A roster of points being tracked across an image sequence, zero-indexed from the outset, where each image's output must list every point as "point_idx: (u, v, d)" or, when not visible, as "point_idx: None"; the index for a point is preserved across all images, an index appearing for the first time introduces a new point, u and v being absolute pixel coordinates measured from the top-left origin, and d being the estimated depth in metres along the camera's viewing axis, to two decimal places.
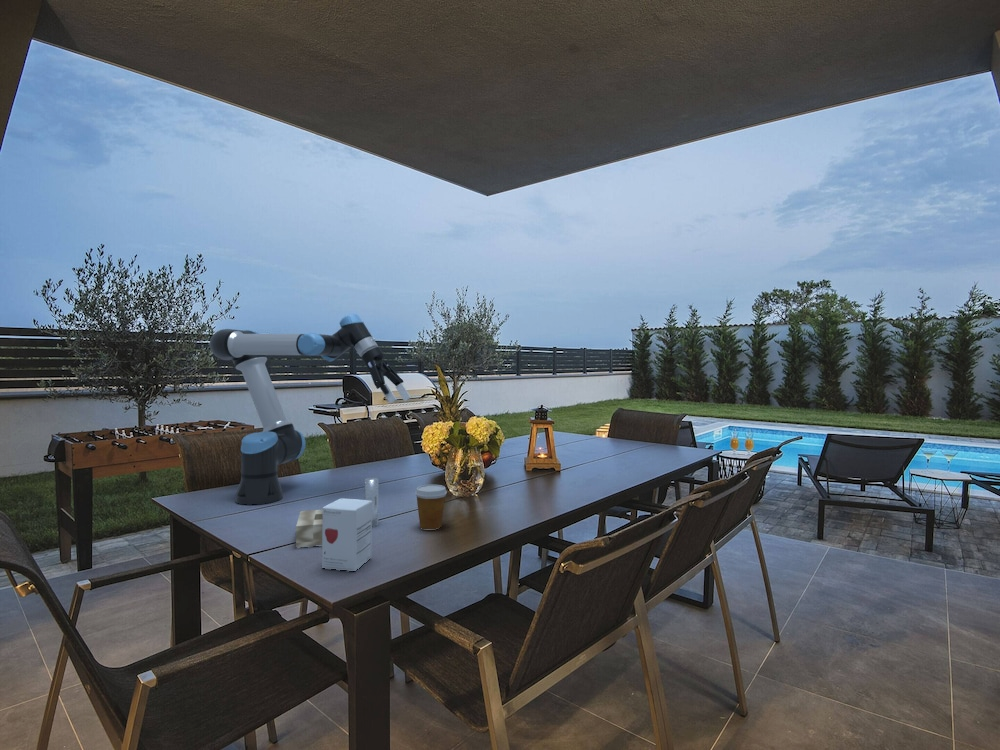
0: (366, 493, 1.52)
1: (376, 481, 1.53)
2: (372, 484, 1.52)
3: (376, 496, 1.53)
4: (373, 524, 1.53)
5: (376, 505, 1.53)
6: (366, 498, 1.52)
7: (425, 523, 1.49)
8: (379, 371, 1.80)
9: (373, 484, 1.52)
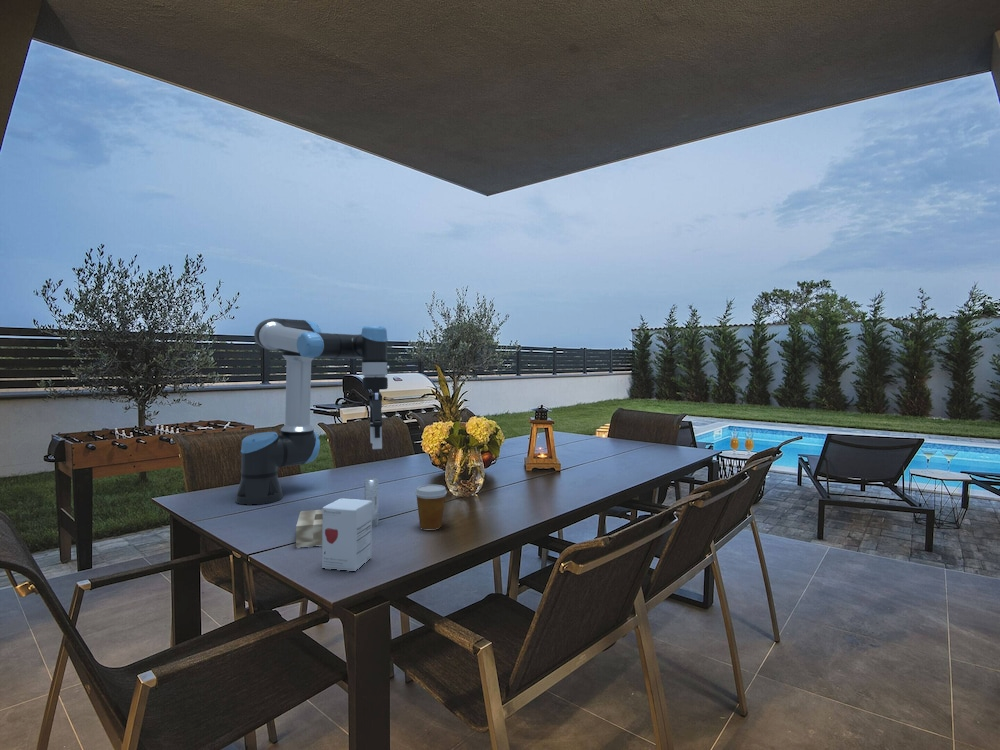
0: (366, 493, 1.52)
1: (376, 481, 1.53)
2: (372, 484, 1.52)
3: (376, 496, 1.53)
4: (373, 524, 1.53)
5: (376, 505, 1.53)
6: (366, 498, 1.52)
7: (425, 523, 1.49)
8: None
9: (373, 484, 1.52)
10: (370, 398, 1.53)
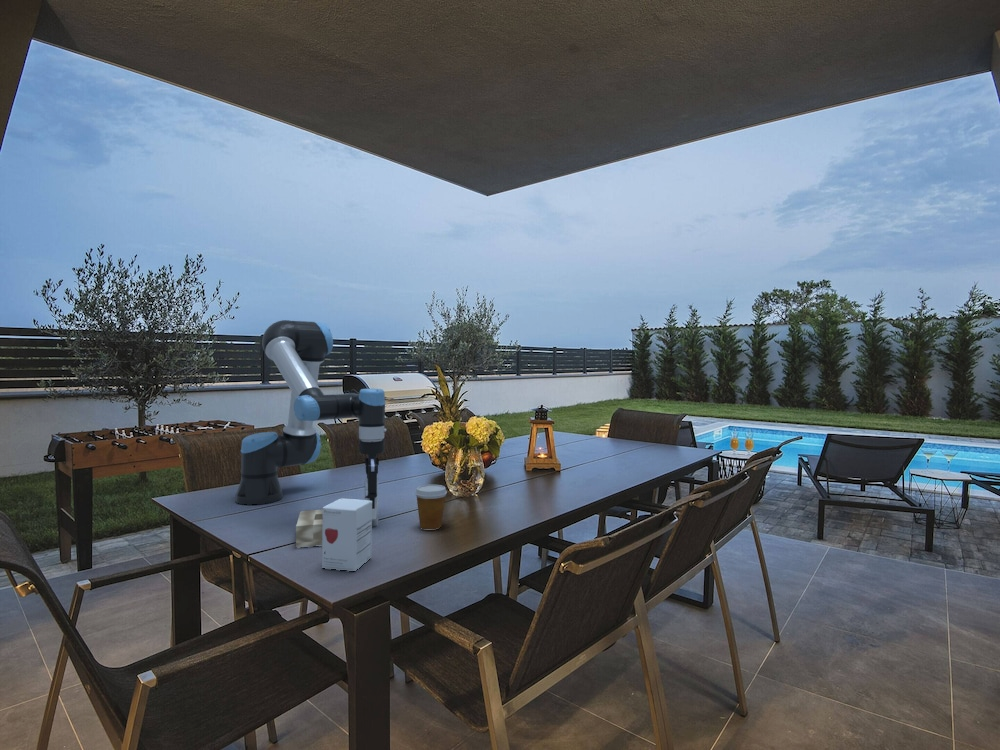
0: (366, 493, 1.52)
1: None
2: None
3: None
4: (373, 524, 1.53)
5: None
6: (366, 498, 1.52)
7: (425, 523, 1.49)
8: None
9: None
10: (366, 464, 1.51)
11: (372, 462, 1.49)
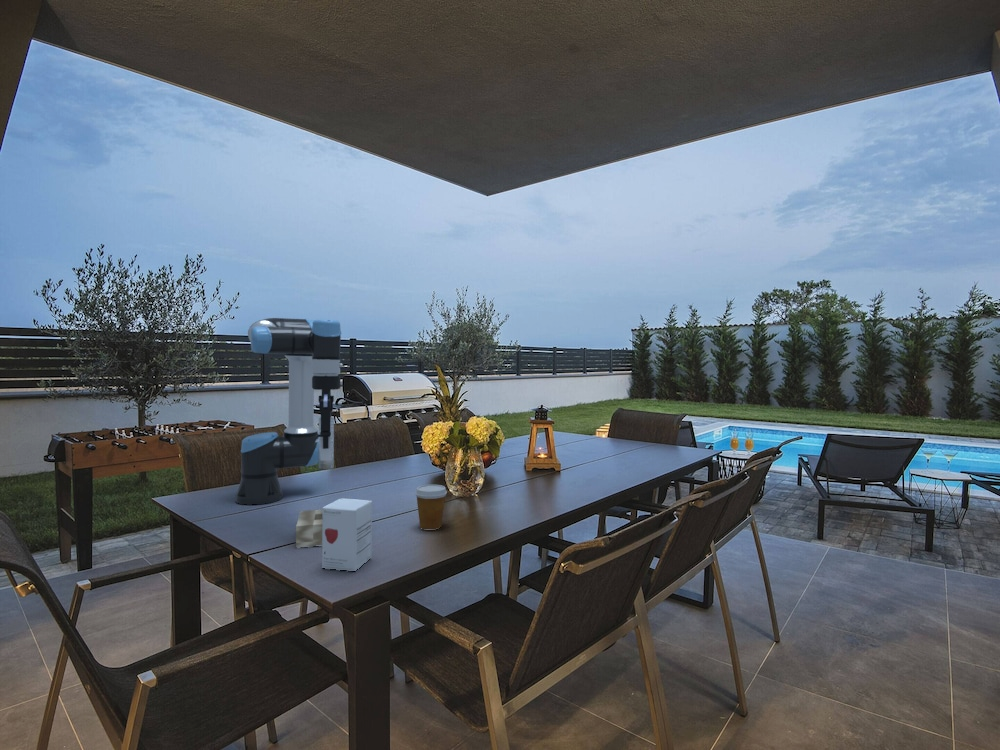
0: None
1: (331, 420, 1.41)
2: None
3: (331, 436, 1.41)
4: (327, 466, 1.41)
5: (331, 446, 1.41)
6: (320, 438, 1.41)
7: (425, 523, 1.49)
8: None
9: None
10: (320, 400, 1.40)
11: (325, 397, 1.37)
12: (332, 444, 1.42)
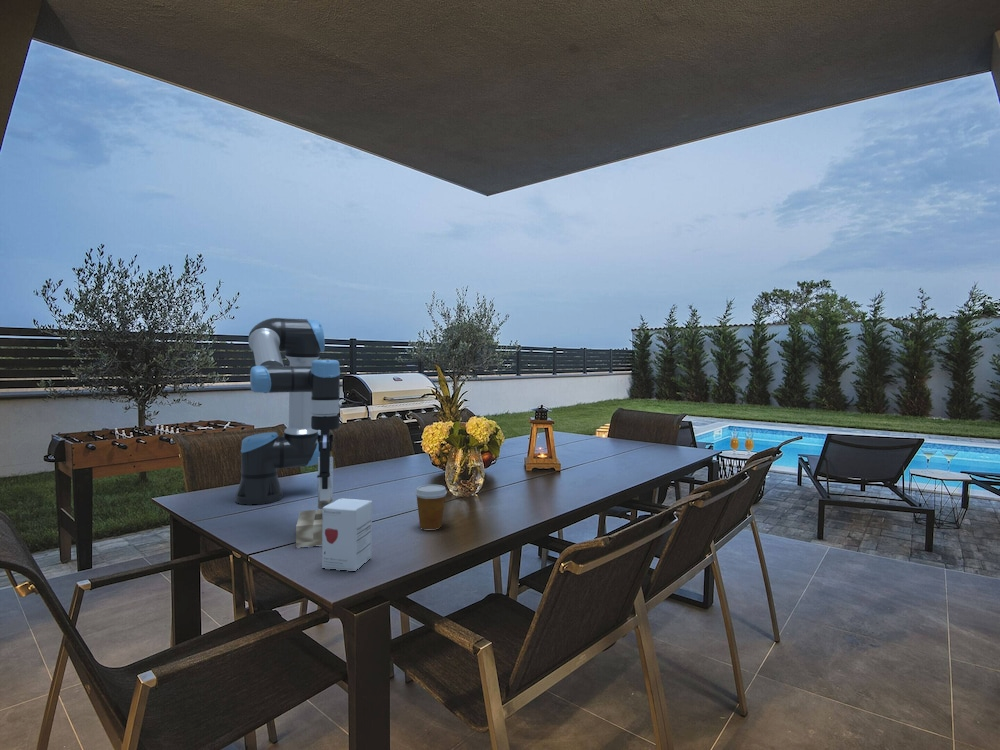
0: (319, 472, 1.41)
1: (330, 459, 1.41)
2: None
3: (330, 476, 1.41)
4: None
5: (330, 485, 1.42)
6: (319, 478, 1.41)
7: (425, 523, 1.49)
8: None
9: None
10: (319, 440, 1.40)
11: (324, 438, 1.38)
12: (331, 484, 1.42)
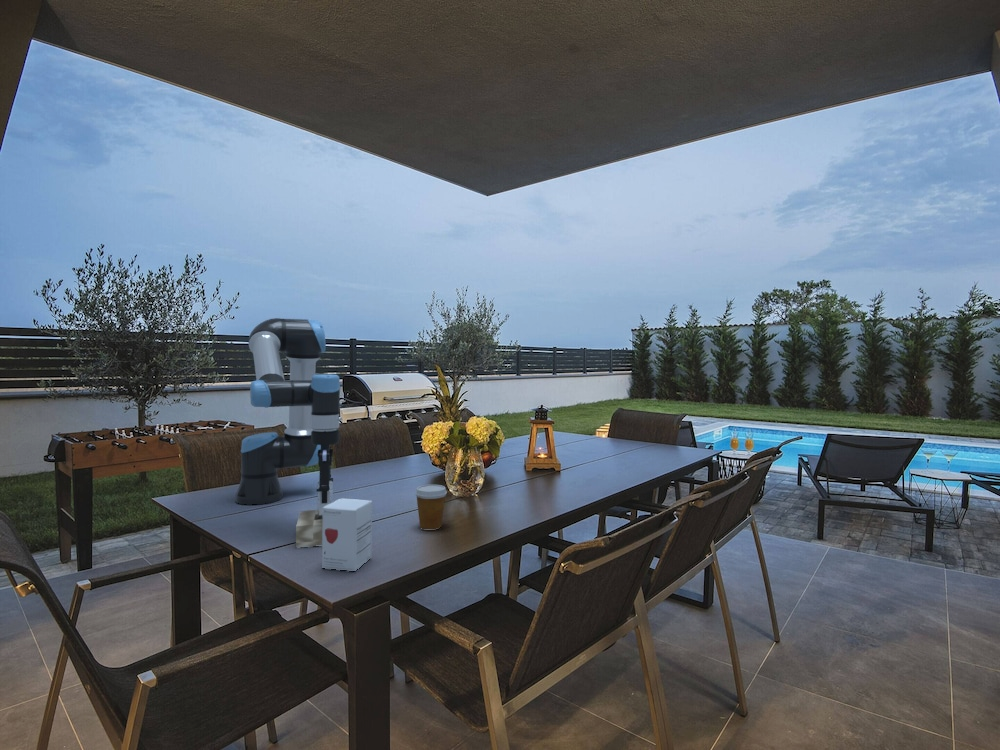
0: None
1: (330, 484, 1.42)
2: None
3: (330, 500, 1.42)
4: None
5: None
6: None
7: (425, 523, 1.49)
8: None
9: None
10: (319, 455, 1.40)
11: (324, 452, 1.38)
12: None
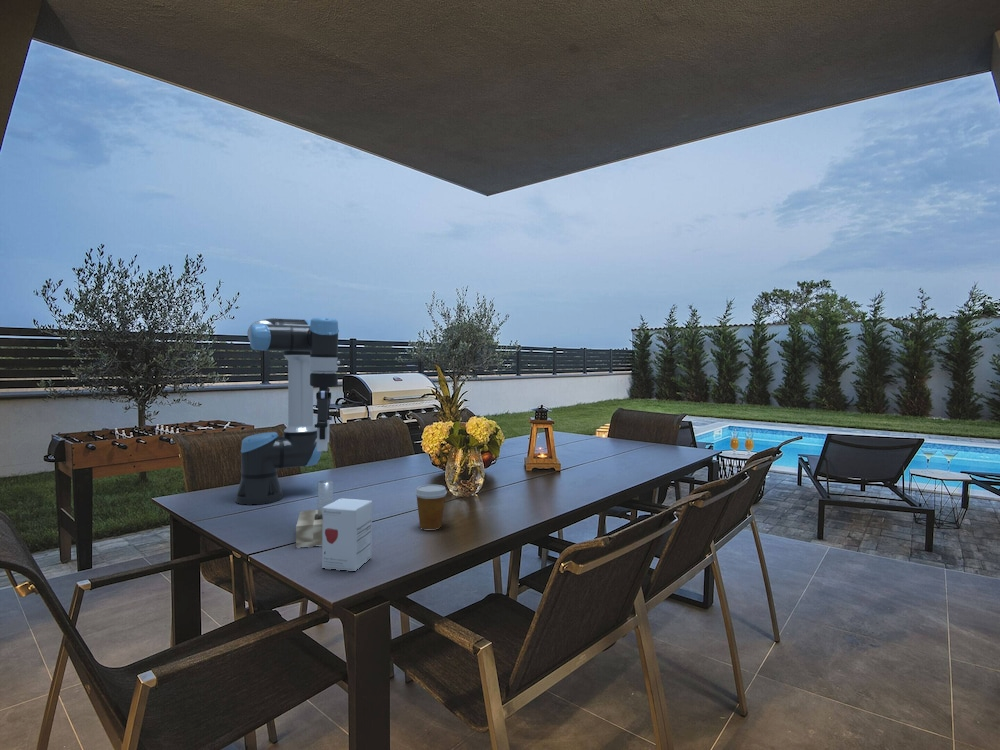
0: (319, 497, 1.41)
1: (330, 484, 1.42)
2: (325, 487, 1.41)
3: (330, 500, 1.42)
4: None
5: None
6: (319, 503, 1.41)
7: (425, 523, 1.49)
8: None
9: (327, 488, 1.41)
10: (317, 396, 1.42)
11: None
12: None
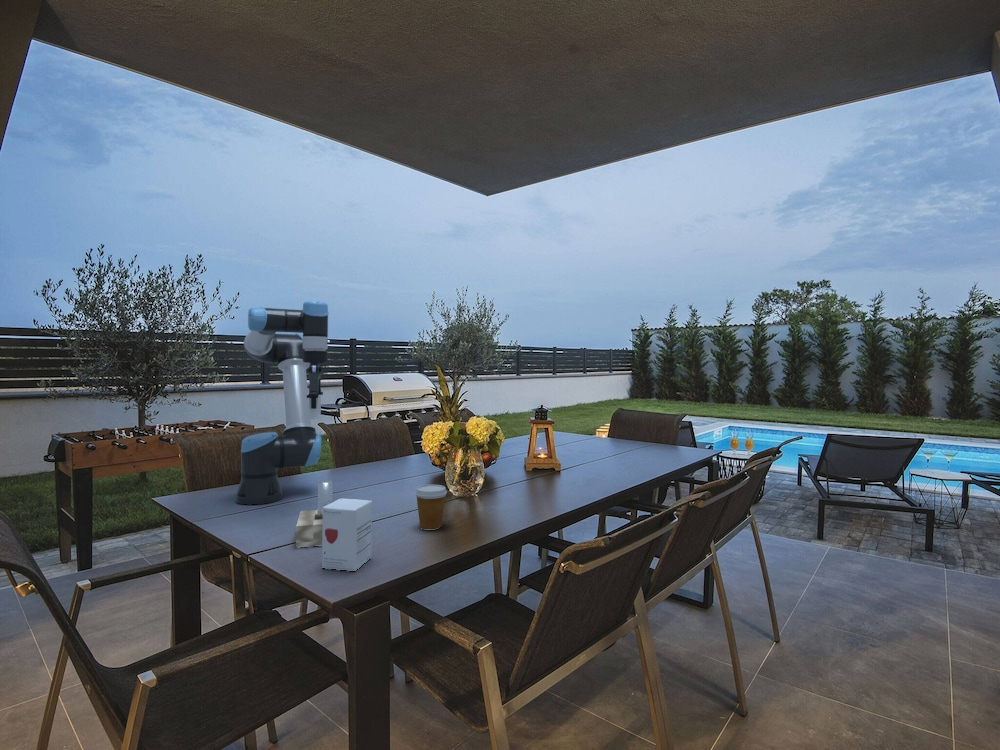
0: (319, 497, 1.41)
1: (329, 484, 1.42)
2: (325, 487, 1.41)
3: (330, 500, 1.42)
4: None
5: None
6: (319, 503, 1.41)
7: (425, 523, 1.49)
8: None
9: (326, 488, 1.41)
10: (309, 371, 1.59)
11: None
12: None
